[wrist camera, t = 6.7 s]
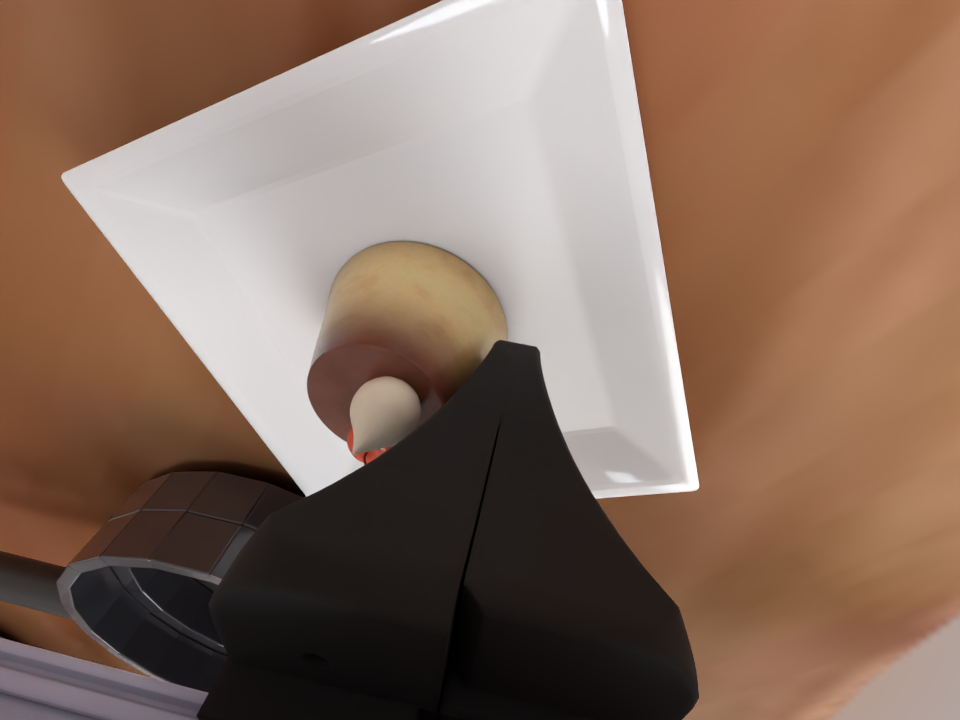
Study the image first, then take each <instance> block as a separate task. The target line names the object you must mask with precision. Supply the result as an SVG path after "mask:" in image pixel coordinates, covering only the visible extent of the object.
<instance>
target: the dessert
mask: <svg viewBox="0 0 960 720" xmlns="http://www.w3.org/2000/svg"><path fill="white" fill-rule="evenodd" d="M61 179H62V181H63V183H64V184H65V185H66V186H67V188H68V189H69V190H70V192H71V193H72V194H73V196H74V197H75V198H76V199H77V201H78V202H79V203H80V205H81V206H82V207H83V208H84V210H85V211H86V212H87V214H88V215H89V216H90V217H91V219H92V220H93V221H94V223H95V224H96V225H97V227H98V228H99V229H100V230H101V232H102V233H103V234H104V236H105V237H106V238H107V239H108V241H109V242H110V243H111V245H112V246H113V247H114V249H115V250H116V251H117V252H118V254H119V255H120V256H121V258H122V259H123V260H124V261H125V263H126V264H127V265H128V267H129V268H130V269H131V270H132V272H133V273H134V274H135V276H136V277H137V278H138V280H139V281H140V282H141V283H142V285H143V286H144V287H145V289H146V290H147V291H148V292H149V294H150V295H151V296H152V298H153V299H154V300H155V302H156V303H157V304H158V305H159V307H160V308H161V309H162V311H163V312H164V313H165V314H166V316H167V317H168V318H169V320H170V321H171V322H172V323H173V325H174V326H175V327H176V329H177V330H178V331H179V333H180V334H181V335H182V336H183V338H184V339H185V340H186V342H187V343H188V344H189V345H190V347H191V348H192V349H193V351H194V352H195V353H196V355H197V356H198V357H199V358H200V360H201V361H202V362H203V364H204V365H205V366H206V367H207V369H208V370H209V371H210V373H211V374H212V375H213V377H214V378H215V379H216V380H217V382H218V383H219V384H220V386H221V387H222V388H223V389H224V391H225V392H226V393H227V395H228V396H229V397H230V398H231V400H232V401H233V402H234V404H235V405H236V406H237V408H238V409H239V410H240V411H241V413H242V414H243V415H244V417H245V418H246V419H247V420H248V422H249V423H250V424H251V426H252V427H253V428H254V430H255V431H256V432H257V433H258V435H259V436H260V437H261V439H262V440H263V441H264V442H265V444H266V445H267V446H268V448H269V449H270V450H271V451H272V453H273V454H274V455H275V457H276V458H277V459H278V461H279V462H280V463H281V464H282V466H283V467H284V468H285V470H286V471H287V472H288V473H289V475H290V476H291V477H292V479H293V480H294V481H295V483H296V484H297V485H298V486H299V488H300V489H301V490H302V492H303V493H304V494H305V495H306V497H307V496H309V495H311V494H313V493H315V492H317V491H320V490H322V489H323V488H325V487H327V486H329V485H331V484H333V483H335V482H336V481H338V480H340V479H342V478H343V477H345V476H347V475H348V474H350V473H352V472H354V471H355V470H357V469H359V468H361V467H362V466H364V465H366V464H367V463H369V462H371V461H372V460H374V459H375V458H377V457H378V456H380V455H381V454H383V453H384V452H386V451H387V450H389V449H390V448H391V447H393V446H394V445H396V444H397V443H398V442H400V441H401V440H403V439H404V438H405V437H407V436H408V435H409V434H410V433H412V432H413V431H414V430H415V429H417V428H418V427H419V426H420V425H422V424H423V423H424V422H425V421H426V420H427V419H429V418H430V417H431V416H432V415H433V414H434V413H435V412H436V411H438V410H439V409H440V408H441V407H442V406H443V405H444V404H445V403H446V402H447V401H448V400H449V399H450V398H451V397H452V396H453V395H454V394H455V393H456V392H457V391H458V390H459V389H460V388H461V386H462V385H463V384H464V383H465V382H466V381H467V380H468V378H469V377H470V376H471V375H472V374H473V373H474V372H475V370H476V369H477V368H478V367H479V365H480V364H481V363H482V361H483V360H484V359H485V357H486V356H487V354H488V353H489V351H490V350H491V348H492V346H493V344H494V343H495V342H497V341H498V340H504V341H510V342H515V343H520V344H525V345H530V346H535V347H537V348H538V349H539V351H540V358H541V366H542V372H543V376H544V381H545V385H546V388H547V392H548V395H549V399H550V402H551V405H552V408H553V411H554V414H555V417H556V419H557V422H558V425H559V427H560V430H561V432H562V434H563V437H564V439H565V442H566V444H567V446H568V448H569V450H570V453H571V455H572V457H573V459H574V461H575V463H576V465H577V467H578V469H579V470H580V472H581V474H582V476H583V478H584V480H585V482H586V483H587V485H588V487H589V488H590V490H591V492H592V494H593V495H594V497H595V499H596V498H610V497H623V496H636V495H649V494H662V493H675V492H688V491H695V490H697V489H698V488H699V481H698V475H697V469H696V462H695V456H694V450H693V444H692V437H691V431H690V425H689V419H688V412H687V406H686V400H685V393H684V387H683V381H682V375H681V368H680V362H679V356H678V350H677V343H676V337H675V331H674V324H673V318H672V312H671V306H670V299H669V293H668V287H667V281H666V274H665V268H664V262H663V256H662V249H661V243H660V237H659V230H658V224H657V218H656V212H655V205H654V199H653V193H652V187H651V180H650V174H649V168H648V161H647V155H646V149H645V143H644V136H643V130H642V124H641V118H640V111H639V105H638V99H637V93H636V86H635V80H634V74H633V67H632V61H631V55H630V49H629V42H628V36H627V30H626V24H625V17H624V11H623V5H622V0H442V1H440V2H438V3H436V4H434V5H431V6H429V7H427V8H425V9H423V10H420V11H418V12H416V13H414V14H412V15H409V16H407V17H405V18H403V19H401V20H398V21H396V22H394V23H392V24H390V25H387V26H385V27H383V28H381V29H379V30H376V31H374V32H372V33H370V34H368V35H365V36H363V37H361V38H359V39H357V40H354V41H352V42H350V43H348V44H346V45H343V46H341V47H339V48H337V49H335V50H333V51H330V52H328V53H326V54H324V55H322V56H319V57H317V58H315V59H313V60H311V61H308V62H306V63H304V64H302V65H300V66H297V67H295V68H293V69H291V70H289V71H286V72H284V73H282V74H280V75H278V76H275V77H273V78H271V79H269V80H267V81H264V82H262V83H260V84H258V85H256V86H253V87H251V88H249V89H247V90H245V91H242V92H240V93H238V94H236V95H234V96H231V97H229V98H227V99H225V100H223V101H220V102H218V103H216V104H214V105H212V106H209V107H207V108H205V109H203V110H201V111H198V112H196V113H194V114H192V115H190V116H187V117H185V118H183V119H181V120H179V121H176V122H174V123H172V124H170V125H168V126H165V127H163V128H161V129H159V130H157V131H154V132H152V133H150V134H148V135H146V136H143V137H141V138H139V139H137V140H135V141H132V142H130V143H128V144H126V145H124V146H121V147H119V148H117V149H115V150H113V151H110V152H108V153H106V154H104V155H102V156H99V157H97V158H95V159H93V160H91V161H88V162H86V163H84V164H82V165H80V166H77V167H75V168H73V169H71V170H69V171H66V172H64V173H62V177H61Z"/></svg>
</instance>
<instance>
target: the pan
mask: <svg viewBox="0 0 960 720" xmlns="http://www.w3.org/2000/svg"><path fill="white" fill-rule="evenodd" d="M303 498H304V497H302V496H299V495H297V494H294V493H292V492H290V491H287V490H285V489H283V488H280V487H278V486H276V485H273V484H269V483H268V482H264V481H259V480H255V479H250V478H246V477H242V476H237V475H233V474H228V473H224V472H172V473H169V474H166V475H163V476H161V477H158V478H155V479H152V480H150V481H147V482H144V483H143V484H142V485H141V486H140V487H139V488H138V489H137V490H136V491H135V492H134V493H133V494H132V495H131V497H130V498H129V499H128V500H127V501H126V502H125V503H124V504H123V505H122V506H121V507H120V509H119V510H118V511H117V512H116V513H115V514H114V515H113V516H112V517H111V518H110V520H109V521H108V522H107V523H106V524H105V525H104V526H103V527H102V528H101V529H100V530H99V531H98V532H97V534H96V535H95V536H94V537H93V538H92V539H91V540H90V541H89V542H88V543H87V544H86V545H85V547H84V548H83V549H82V550H81V551H80V552H79V553H78V554H77V555H76V556H75V557H74V559H73V560H72V561H71V562H70V563H69V564H68V565H67V567H66V568H65V570H64V571H63V572H62V574H61V575H60V577H59V578H58V579H57V581H56V585H57V589H58V593H59V597H60V601H61V604H62V606H63V607H64V609H65V610H66V611H67V612H68V613H69V615H70V616H71V617H72V618H73V620H74V621H75V622H76V623H77V625H78V626H79V627H80V628H81V629H82V630H83V631H84V632H85V633H86V634H88V635H89V636H90V637H91V638H93V639H94V640H95V641H96V642H98V643H99V644H100V645H101V646H103V647H104V648H105V649H106V650H108V651H109V652H110V653H112V654H113V655H115V656H116V657H118V658H120V659H121V660H123V661H125V662H126V663H128V664H130V665H131V666H133V667H135V668H136V669H138V670H140V671H141V672H143V673H145V674H146V675H149V676H150V677H152V678H154V679H158V680H162V681H165V682H169V683H173V684H177V685H180V686H184V687H188V688H192V689H196V690H199V691H203V692H207V693H209V692H210V690H211V688H212V686H213V684H214V682H215V681H216V679H217V677H218V675H219V673H220V672H221V670H222V668H223V666H224V664H225V662H226V661H227V659H228V654H227V652H226V650H225V648H224V646H223V643H222V641H221V639H220V637H219V635H218V633H217V630H216V628H215V626H214V624H213V621H212V618H211V614H210V609H209V602H210V600H211V597H212V595H213V593H214V591H215V590H216V588H217V587H218V585H219V584H220V582H221V580H222V579H223V577H224V576H225V574H226V572H227V571H228V569H229V568H230V566H231V564H232V563H233V561H234V560H235V558H236V557H237V555H238V554H239V552H240V550H241V549H242V548H243V546H244V545H245V544H246V543H247V541H248V540H249V539H250V538H251V536H252V535H253V534H254V533H255V531H256V530H257V529H258V528H259V527H260V525H261V524H262V523H263V522H264V521H265V519H266V518H267V517H268V516H269V515H270V513H272V512H275V511H277V510H279V509H282V508H284V507H286V506H288V505H290V504H292V503H294V502H296V501H299V500H301V499H303Z"/></svg>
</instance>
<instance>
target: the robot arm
mask: <svg viewBox="0 0 960 720" xmlns="http://www.w3.org/2000/svg"><path fill="white" fill-rule="evenodd" d="M209 609H210V614H211V618H212V621H213V624H214V626H215V628H216V630H217V633H218V635H219V637H220V639H221V641H222V643H223V646H224V648H225V650H226V652H227V654H228V659H227V661H226V662H225V664H224V666H223V668H222V670H221V672H220V673H219V675H218V677H217V679H216V681H215V682H214V684H213V686H212V688H211V690H210V692H209V693H207V692H203V691H199V690H196V689H192V688H188V687H184V686H180V685H177V684H173V683H169V682H165V681H162V680H158V679H154V678H150V677H147V676H143V675H139V674H135V673H131V672H128V671H124V670H120V669H116V668H113V667H109V666H105V665H101V664H98V663H94V662H90V661H86V660H82V659H79V658H75V657H71V656H67V655H64V654H60V653H56V652H52V651H49V650H45V649H41V648H37V647H33V646H30V645H26V644H22V643H18V642H15V641H11V640H7V639H3V638H0V720H682V719H683V718H684V717H685V716H686V715H687V714H688V713H689V712H690V711H691V710H692V709H693V707H694V705H695V704H696V702H697V700H698V698H699V693H698V682H697V673H696V667H695V662H694V658H693V654H692V650H691V646H690V643H689V639H688V635H687V632H686V629H685V626H684V622H683V619H682V616H681V613H680V610H679V607H678V606H677V605H676V604H675V603H674V601H673V600H672V599H671V598H670V597H669V596H668V595H667V593H666V592H665V591H664V590H663V589H662V588H661V586H660V585H659V584H658V583H657V582H656V581H655V579H654V578H653V577H652V576H651V575H650V574H649V573H648V571H647V570H646V569H645V568H644V567H643V565H642V564H641V563H640V562H639V560H638V559H637V558H636V556H635V555H634V554H633V552H632V551H631V550H630V548H629V547H628V546H627V544H626V543H625V542H624V540H623V539H622V538H621V536H620V535H619V533H618V532H617V530H616V529H615V527H614V526H613V524H612V523H611V521H610V520H609V518H608V517H607V515H606V514H605V512H604V511H603V509H602V508H601V506H600V505H599V503H598V502H597V500H596V499H595V497H594V495H593V494H592V492H591V490H590V488H589V487H588V485H587V483H586V482H585V480H584V478H583V476H582V474H581V472H580V470H579V469H578V467H577V465H576V463H575V461H574V459H573V457H572V455H571V453H570V450H569V448H568V446H567V444H566V442H565V439H564V437H563V434H562V432H561V430H560V427H559V425H558V422H557V419H556V417H555V414H554V411H553V408H552V405H551V402H550V399H549V395H548V392H547V388H546V385H545V381H544V376H543V372H542V366H541V358H540V351H539V349H538V348H537V347H535V346H530V345H525V344H520V343H515V342H510V341H504V340H498V341H497V342H495V343H494V344H493V346H492V348H491V350H490V351H489V353H488V354H487V356H486V357H485V359H484V360H483V361H482V363H481V364H480V365H479V367H478V368H477V369H476V370H475V372H474V373H473V374H472V375H471V376H470V377H469V378H468V380H467V381H466V382H465V383H464V384H463V385H462V386H461V388H460V389H459V390H458V391H457V392H456V393H455V394H454V395H453V396H452V397H451V398H450V399H449V400H448V401H447V402H446V403H445V404H444V405H443V406H442V407H441V408H440V409H439V410H438V411H436V412H435V413H434V414H433V415H432V416H431V417H430V418H429V419H427V420H426V421H425V422H424V423H423V424H422V425H420V426H419V427H418V428H417V429H415V430H414V431H413V432H412V433H410V434H409V435H408V436H407V437H405V438H404V439H403V440H401V441H400V442H398V443H397V444H396V445H394V446H393V447H391V448H390V449H389V450H387V451H386V452H384V453H383V454H381V455H380V456H378V457H377V458H375V459H374V460H372V461H371V462H369V463H367V464H366V465H364V466H362V467H361V468H359V469H357V470H355V471H354V472H352V473H350V474H348V475H347V476H345V477H343V478H342V479H340V480H338V481H336V482H335V483H333V484H331V485H329V486H327V487H325V488H323V489H322V490H320V491H317V492H315V493H313V494H311V495H309V496H307V497H305V498H303V499H301V500H299V501H296V502H294V503H292V504H290V505H288V506H286V507H284V508H282V509H279V510H277V511H275V512H272V513H270V515H269V516H268V517H267V518H266V519H265V521H264V522H263V523H262V524H261V525H260V527H259V528H258V529H257V530H256V531H255V533H254V534H253V535H252V536H251V538H250V539H249V540H248V541H247V543H246V544H245V545H244V546H243V548H242V549H241V550H240V552H239V554H238V555H237V557H236V558H235V560H234V561H233V563H232V564H231V566H230V568H229V569H228V571H227V572H226V574H225V576H224V577H223V579H222V580H221V582H220V584H219V585H218V587H217V588H216V590H215V591H214V593H213V595H212V597H211V600H210V602H209Z"/></svg>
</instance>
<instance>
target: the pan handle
mask: <svg viewBox="0 0 960 720" xmlns="http://www.w3.org/2000/svg"><path fill="white" fill-rule="evenodd" d="M65 568H66V567H62V566H58V565H54V564H50V563H46V562H42V561H38V560H34V559H30V558H26V557H22V556H18V555H14V554H10V553H6V552H2V551H0V601H4V602H7V603H11V604H15V605H19V606H23V607H27V608H31V609H35V610H39V611H42V612H46V613H50V614H54V615H58V616H62V617H66V618H70V619H73V618H72V617H71V616H70V615H69V613H68V612H67V611H66V610H65V609H64V607H63V606H62V604H61V601H60V597H59V593H58V589H57V585H56V581H57V579H58V578H59V577H60V575H61V574H62V572H63V571H64V570H65Z"/></svg>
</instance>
